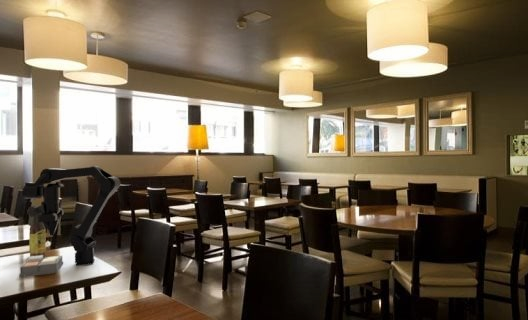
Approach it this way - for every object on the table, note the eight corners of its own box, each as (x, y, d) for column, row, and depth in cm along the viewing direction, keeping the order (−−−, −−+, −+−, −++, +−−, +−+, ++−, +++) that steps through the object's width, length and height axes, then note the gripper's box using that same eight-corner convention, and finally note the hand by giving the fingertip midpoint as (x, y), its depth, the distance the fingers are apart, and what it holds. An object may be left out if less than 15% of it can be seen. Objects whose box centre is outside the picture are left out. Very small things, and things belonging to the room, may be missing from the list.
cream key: (56, 262, 147) (56, 257, 147) (54, 265, 143) (54, 260, 143) (44, 263, 146) (44, 258, 146) (41, 266, 142) (41, 261, 142)
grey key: (43, 260, 151) (43, 255, 151) (40, 263, 147) (40, 258, 147) (31, 261, 150) (30, 256, 150) (27, 264, 146) (27, 259, 146)
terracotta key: (39, 266, 146) (39, 261, 146) (36, 269, 141) (36, 264, 141) (26, 267, 144) (26, 262, 144) (23, 271, 140) (23, 266, 140)
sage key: (59, 260, 153) (59, 255, 153) (57, 263, 149) (57, 258, 149) (47, 261, 152) (47, 257, 152) (45, 264, 148) (45, 260, 148)
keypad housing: (63, 263, 155) (63, 255, 154) (57, 272, 143) (56, 263, 143) (28, 267, 150) (28, 258, 150) (19, 276, 139) (19, 267, 139)
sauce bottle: (40, 257, 164) (39, 213, 163) (26, 258, 164) (25, 213, 163) (49, 253, 170) (48, 211, 170) (35, 253, 170) (34, 211, 170)
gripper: (34, 196, 160) (35, 232, 161) (22, 202, 143) (23, 242, 143) (63, 195, 164) (64, 230, 164) (54, 200, 146) (55, 239, 147)
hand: (51, 235), depth 155 cm, fingers closed
